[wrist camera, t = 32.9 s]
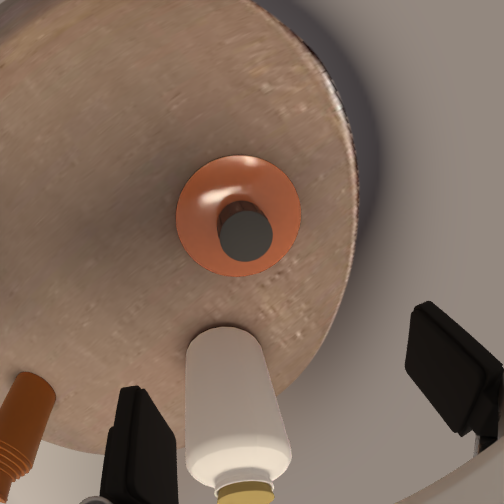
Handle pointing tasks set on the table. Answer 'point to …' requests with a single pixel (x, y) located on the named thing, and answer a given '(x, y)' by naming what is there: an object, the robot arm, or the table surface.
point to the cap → (244, 231)
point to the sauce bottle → (22, 427)
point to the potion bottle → (233, 418)
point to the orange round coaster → (230, 190)
